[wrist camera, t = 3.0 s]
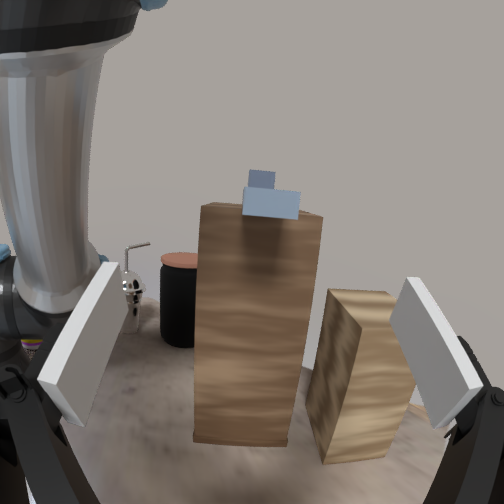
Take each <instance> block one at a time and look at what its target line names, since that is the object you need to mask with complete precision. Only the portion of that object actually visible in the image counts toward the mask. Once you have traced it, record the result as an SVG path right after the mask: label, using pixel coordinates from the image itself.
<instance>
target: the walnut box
mask: <svg viewBox="0 0 504 504" xmlns="http://www.w3.org/2000/svg"><path fill="white" fill-rule="evenodd" d="M322 222H323V217H321V216H318V215H315V214H311V213H308V212H305V211H301V210H299V213H298V220H296V219H285V218H275V217H263V216H252V215H242V204H230V203H217V202H213V203H210V204H206V205H203V206H201V213H200V228H199V244H198V245H199V246H198V261H197V282H196V307H195V345H194V427H195V428H194V433H193V442H197V443H207V444H218V445H232V446H253V447H287V443H288V439H287V435H288V430H289V426H290V421H291V416H292V412H293V407H294V402H295V397H296V392H297V387H298V382H299V377H300V371H301V366H302V361H303V355H304V349H305V344H306V338H307V332H308V325H309V319H310V313H311V306H312V300H313V293H314V286H315V278H316V272H317V264H318V256H319V248H320V240H321V231H322Z"/></svg>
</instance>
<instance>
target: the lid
mask: <svg viewBox="0 0 504 504" xmlns="http://www.w3.org/2000/svg"><path fill="white" fill-rule="evenodd" d="M274 182H275V172H270V171H259V170H250V171H249V180H248V187H245V188H244V190H243V202H242V215H252V216H263V217H275V218H285V219H296V220H298V213H299V202H300V192H294V191H285V190H275V189H274Z"/></svg>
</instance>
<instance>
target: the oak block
mask: <svg viewBox="0 0 504 504" xmlns="http://www.w3.org/2000/svg"><path fill="white" fill-rule="evenodd" d="M396 302H397V299H395V298H394V297H392V296H391V295H390V294H388V293H387V292H385V291H366V290H365V291H364V290H346V289H328V291H327V297H326V303H325V309H324V315H323V321H322V327H321V332H320V338H319V343H318V348H317V354H316V359H315V364H314V369H313V373H312V378H311V383H310V387H309V392H308V397H307V401H306V405H305V406H306V409H307V412H308V416H309V419H310V423H311V426H312V430H313V433H314V437H315V440H316V443H317V447H318V450H319V454H320V457H321V461H322V464H323V465H325V464H336V463H346V462H354V461H362V460H369V459H375V458H381V457H385V455H386V453H387V451H388V449H389V447H390V445H391V443H392V440H393V438H394V436H395V434H396V432H397V430H398V427H399V425H400V423H401V420H402V418H403V416H404V413H405V411H406V409H407V406H408V404H409V401H410V398H411V396H412V393H413V391H414V388H415V385H416V382H415V380H414V377H413V375H412V373H411V370H410V368H409V365H408V363H407V361H406V358H405V356H404V354H403V351H402V349H401V347H400V344H399V342H398V340H397V338H396V335H395V333H394V331H393V329H392V326H391V324H390V322H389V319H390V316H391V314H392V312H393V309H394V307H395V305H396Z"/></svg>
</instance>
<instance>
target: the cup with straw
mask: <svg viewBox="0 0 504 504" xmlns="http://www.w3.org/2000/svg"><path fill="white" fill-rule="evenodd" d="M148 245H150V243H149V242H147V243H141V244H137V245H132V246H128V247H127V248H126V249H125V270H124V271H121V276H122V281H123V286H124V291H125V296H126V300H127V305H128V309H129V310H128V313H127V315H126V317H125V320H124V322H123V325H122V327H121V329H120V332H122V333H125V334H132V333H136V332H137V331H138V326H139V314H140V303H141V299H142V293H143V292H145V290H146V288H145V285H144V284H143V283H142V281H141V279H140V277H139V276H138V275H137V274H136V273H135V272H133V271H130V270H128V250H129V249H133V248H138V247H143V246H148Z"/></svg>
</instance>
